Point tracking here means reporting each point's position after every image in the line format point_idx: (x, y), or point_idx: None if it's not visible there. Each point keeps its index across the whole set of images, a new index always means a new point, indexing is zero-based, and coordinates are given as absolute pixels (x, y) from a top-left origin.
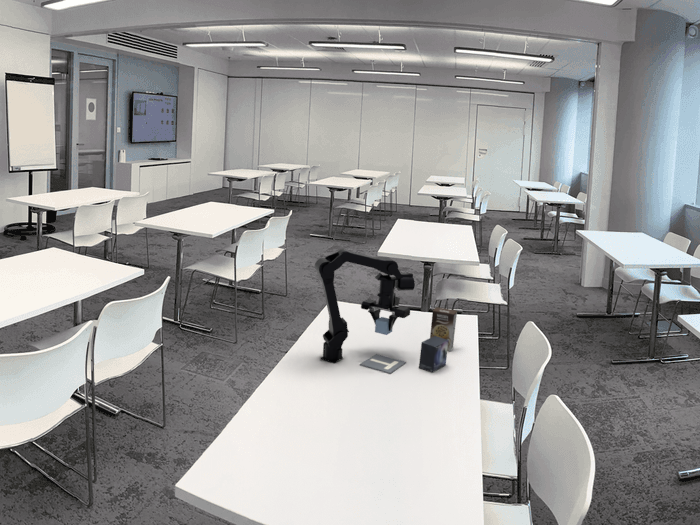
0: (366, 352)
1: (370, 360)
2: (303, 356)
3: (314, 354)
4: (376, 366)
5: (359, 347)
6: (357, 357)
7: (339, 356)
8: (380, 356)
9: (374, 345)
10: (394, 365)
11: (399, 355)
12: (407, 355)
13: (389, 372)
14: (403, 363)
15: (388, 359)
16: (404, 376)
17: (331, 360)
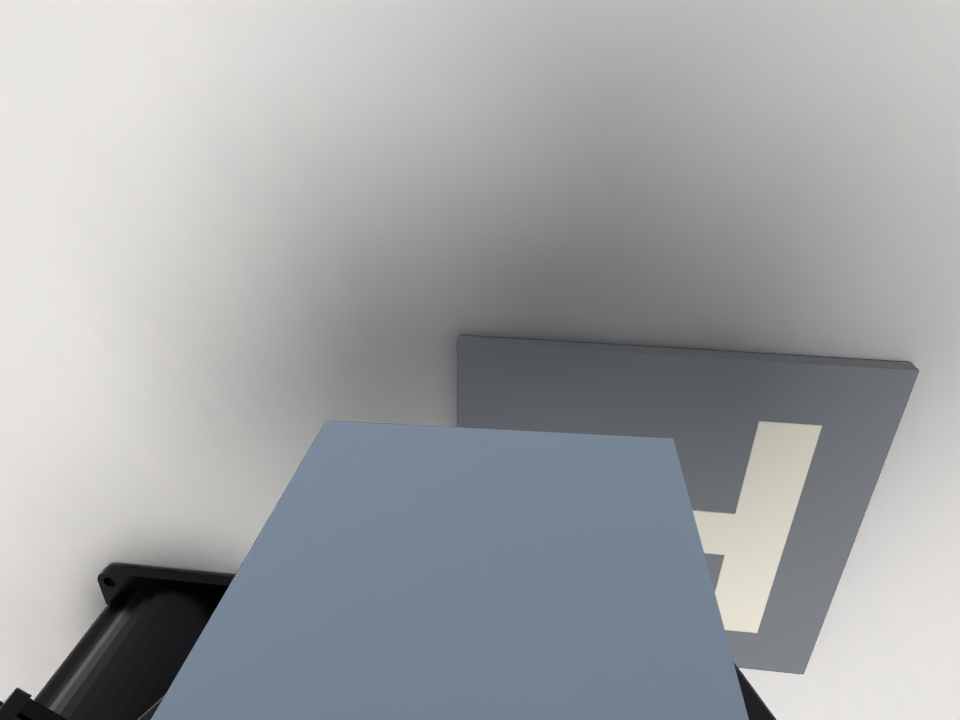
0: (319, 328)
1: None
2: (20, 670)
3: (32, 611)
4: None
5: (148, 230)
6: None
7: None
8: (541, 389)
9: (232, 4)
10: (794, 527)
11: (747, 154)
12: (876, 67)
13: (791, 672)
14: (890, 431)
15: (668, 417)
16: (951, 649)
17: None
